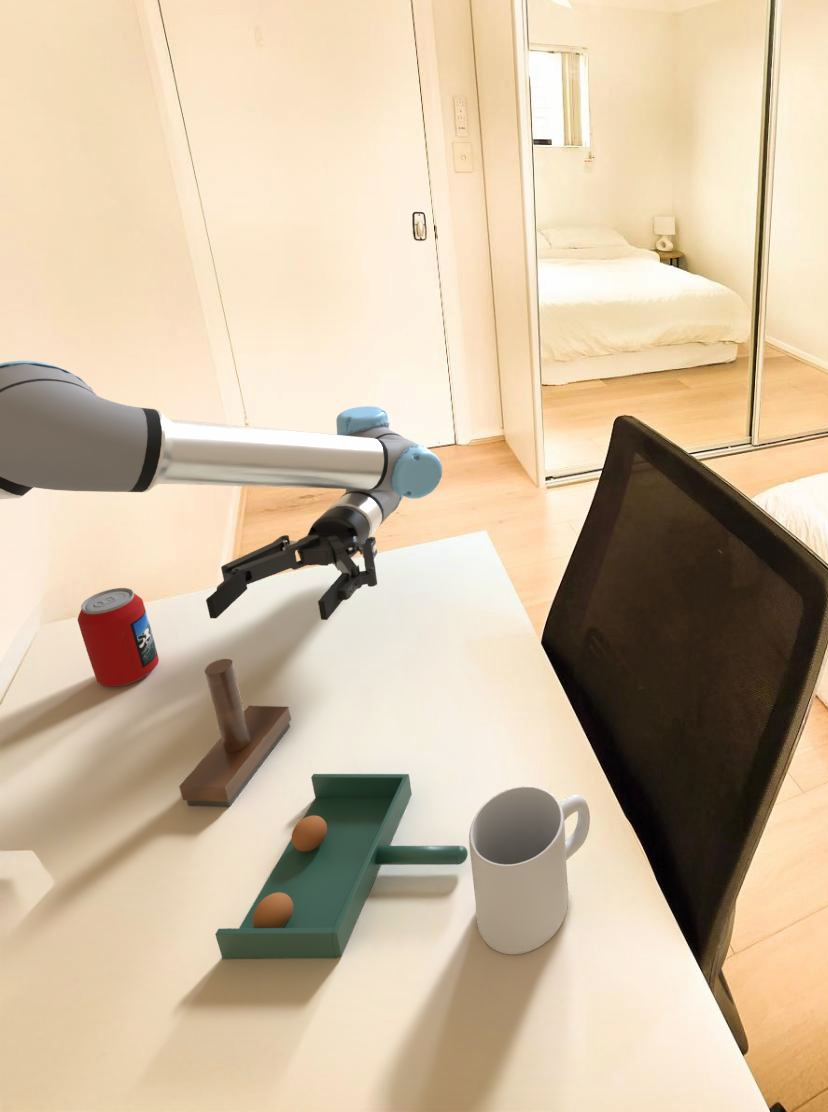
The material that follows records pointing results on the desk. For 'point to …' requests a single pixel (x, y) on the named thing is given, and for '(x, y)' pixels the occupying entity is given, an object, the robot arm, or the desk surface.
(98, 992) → the desk surface
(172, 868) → the desk surface
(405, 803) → the dustpan
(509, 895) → the mug
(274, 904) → the brown egg
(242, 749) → the brush
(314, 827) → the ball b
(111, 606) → the beverage can
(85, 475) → the robot arm
